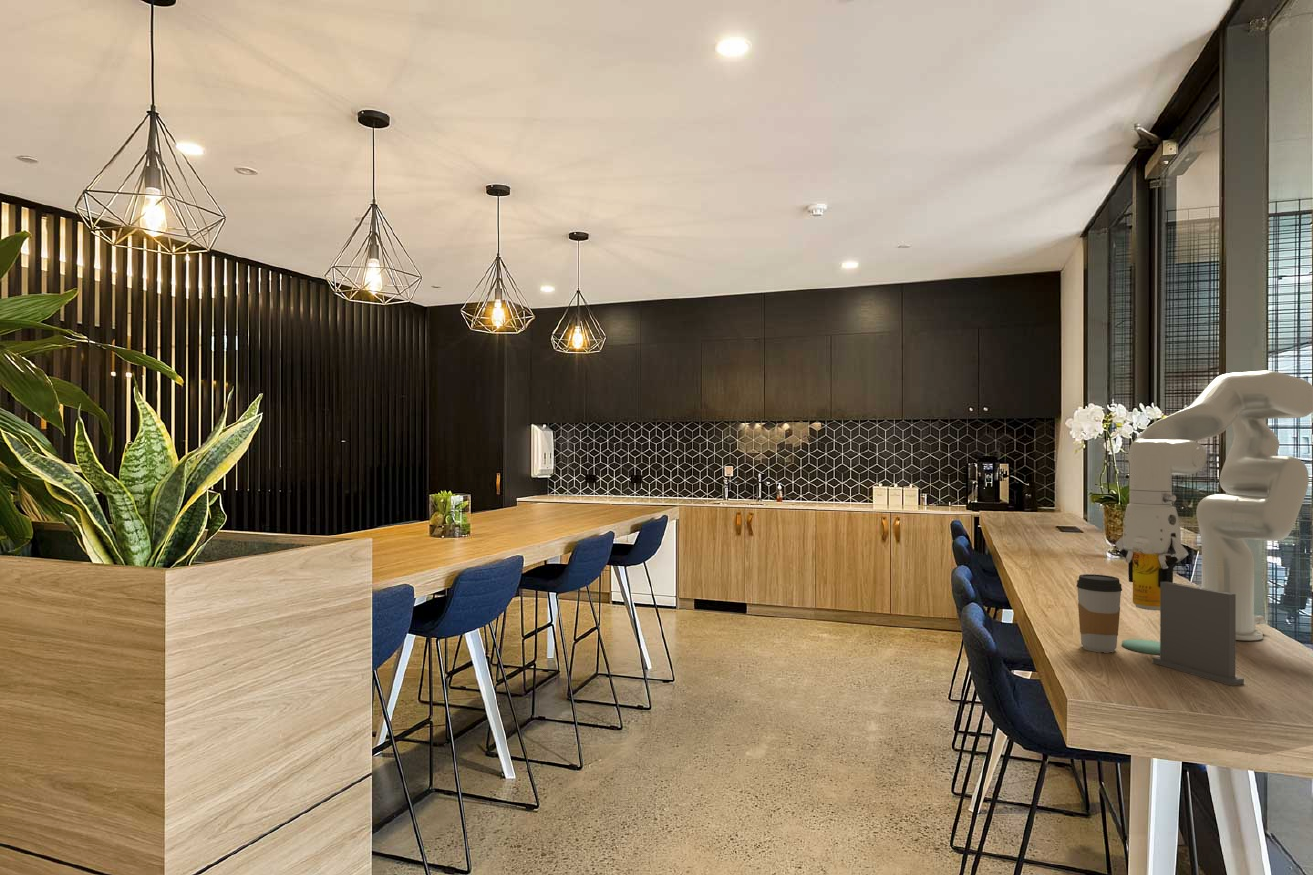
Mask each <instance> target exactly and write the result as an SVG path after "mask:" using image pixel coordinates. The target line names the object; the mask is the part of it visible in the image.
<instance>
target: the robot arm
mask: <svg viewBox="0 0 1313 875" xmlns="http://www.w3.org/2000/svg"><path fill="white" fill-rule="evenodd" d="M1312 413H1313V385H1312V384H1311V383H1310V382H1309V381H1307V380H1305V379H1302V378H1299V377H1295V376H1293V375H1289V374H1286V373H1283V372H1278V371H1274V370H1256V371H1255V370H1253V371H1243V372H1241V371H1240V372H1230V373H1224V374H1220V375H1218V376H1217V377H1215V378H1214V379H1213V380H1212V381H1210V383H1208V385H1207V386H1206V387H1205V388H1204V389H1203V390H1202V391H1201V393H1200V394H1199V395H1198V396H1197V397H1196V398H1194V400H1193V402H1191V403H1190V405H1189V406H1188V407H1186V408H1183V409H1181V410H1178V411H1176V412H1173V413H1172V414H1170V415H1168V416H1166V417H1163V418H1161V419H1158V420H1156V421H1154V422H1153V423H1152V424H1149V425H1148V426H1147V427H1146V428H1145V429H1144V430H1142V432H1141V433H1140V434H1139V435H1138V436H1137V437H1136V438H1135V439H1134V440H1133V442H1131V443H1130V445H1129V451H1128V453H1127V454H1128V455H1127V458H1128V463H1129V471H1128V472H1129V476H1128V477H1129V478H1128V479H1129V480H1128V481H1129V483H1128V484H1129V488H1128V489H1129V490H1128V491H1129V492H1128V493H1129V498H1128V499H1129V502H1128V503H1127V505H1126V509H1125V512H1124V518H1123V525H1122V526H1123V529H1122V536H1121V537H1119V539H1118V540H1116V541H1115V544H1114V545H1115V547H1116V548H1117V549H1118V551H1119V552H1120V553H1121V555H1122V556H1123V557H1124V560H1125V563H1127V564H1128V570H1127V571H1128V583H1133V540H1134V539H1135V538H1136V536H1138V537H1146V538H1148V540H1149V541H1150V542H1151V543H1152V547H1153V552H1154V553H1155V554H1158V559H1159V561H1160V564H1161V567H1162V568H1159V570H1158V586H1159V587H1160V582H1172V583H1174V569H1176V568H1177V565H1178V564H1180V563H1181V562H1182V561H1183V560H1184V559H1185V558H1186V557H1187V556H1189V552H1188V550H1187V549H1186V548H1185V547H1184V546H1183V544H1182V534H1181V525H1180V519H1179V518H1180V517H1179V514H1178V511H1177V507H1176V506H1173V502H1176V500H1177V496H1176V494H1173V492H1172V491H1173V490H1172V489H1173V488H1172V485H1173V482H1172V481H1173V478H1172V476H1173V475H1176V476H1177V475H1179V476H1181V475H1182V476H1189V475H1194V474H1197V473H1199V472H1200V471H1201V470H1202V469H1203V468H1204V467H1205V466H1206V464H1207V460H1208V455H1207V451H1206V448H1204V446H1203V445H1202V444H1200V443H1199V442H1198V441H1203V440H1207V439H1210V438H1214V437H1216V436H1219V435H1222V433H1224V432H1225V431H1226V430H1227V429H1228V428H1229V427H1230V426H1232V430H1233V441H1232V444H1231V446H1230V449H1229V451H1228V454H1227V457H1226V458H1225V461H1224V463H1223V466H1222V469H1221V471H1220V476H1219V485H1220V488H1221V489H1222V490H1223V491H1224V492H1225V493H1218V494H1217V493H1216V494H1210V495H1208V496H1205V497H1204V498H1202V499H1201V500H1200V501H1199V502H1198V504H1197V506H1196V520H1197V524H1198V528H1199V529H1198V530H1199V534H1200V541H1201V542H1200V544H1201V588H1205V589H1210V590H1216V591H1221V592H1227V593H1232V594H1236V639H1235V641H1245V642H1246V641H1248V642H1249V641H1252V642H1253V641H1261V640H1262V639H1263V638H1264V636H1263V635H1264V634H1263V632H1262V631H1260V630H1258V629H1256V626H1257V625H1264V624H1265V623H1266V618H1265V617H1264V616H1263V615H1256V614H1255V605H1254V604H1255V583H1254V582H1255V559H1254V555H1253V551H1252V550H1251V548H1250V547H1249V546H1248V544H1247V543H1246V541H1245V539H1248V540H1249V539H1250V540H1258V541H1267V542H1270V541H1271V542H1277V541H1282V540H1285V539H1286V538H1288V537H1289V535H1291V533H1292V530H1293V528H1294V526H1295V524H1296V521H1297V518H1298V517H1299V513H1300V510H1301V508H1302V505H1303V502H1304V501H1305V497H1306V494H1307V493H1308V488H1309V482H1310V479H1309V478H1310V475H1309V470H1308V468H1307V466H1306V464H1305V463H1304V461H1302V460H1301V459H1299V458H1297V457H1294V456H1289V455H1277V454H1278V451H1279V450H1280V449H1279V448H1280V441H1279V438H1278V437H1277V435H1276V434H1275V432H1274V431H1273V430H1272V429H1271V428H1270V427H1269V426H1268V425H1267V424H1266V422H1265V421H1264V420H1263V419H1265V420H1267V419H1268V420H1269V419H1270V420H1271V419H1272V420H1273V419H1300V418H1305V417H1307V416H1309V415H1311V414H1312ZM1166 559H1167V560H1166Z"/></svg>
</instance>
